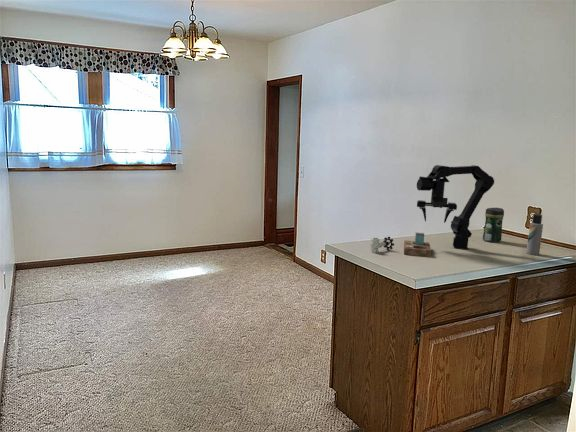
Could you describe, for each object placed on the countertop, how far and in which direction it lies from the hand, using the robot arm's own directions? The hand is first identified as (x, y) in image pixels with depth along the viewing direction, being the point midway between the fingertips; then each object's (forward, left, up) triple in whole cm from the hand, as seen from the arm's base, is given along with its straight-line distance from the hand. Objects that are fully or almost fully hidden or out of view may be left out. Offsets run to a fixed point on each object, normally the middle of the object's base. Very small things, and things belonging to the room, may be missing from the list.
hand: (434, 222), depth 238 cm
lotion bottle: (-48, -7, -13) cm, 50 cm away
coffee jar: (-33, -32, -13) cm, 48 cm away
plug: (+7, +7, -13) cm, 17 cm away
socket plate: (+8, +12, -13) cm, 19 cm away
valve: (+25, +19, -13) cm, 34 cm away
